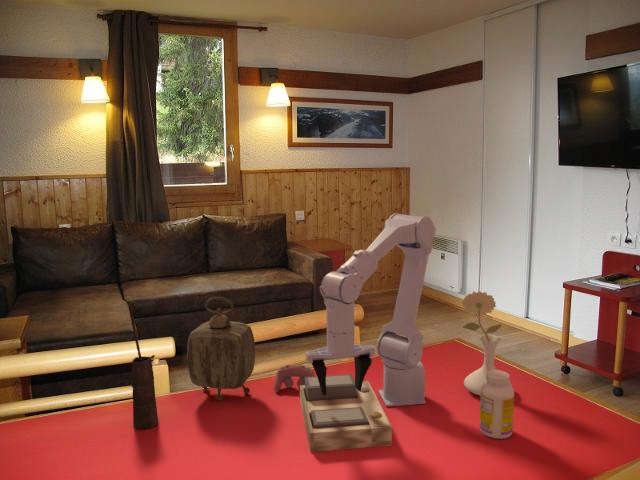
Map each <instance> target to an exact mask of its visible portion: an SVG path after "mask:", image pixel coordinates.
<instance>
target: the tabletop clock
mask: <svg viewBox="0 0 640 480" xmlns="http://www.w3.org/2000/svg"><path fill="white" fill-rule="evenodd" d="M215 300H217V301H218V300H219V301H224V302H226V303H228V304H229V305H230V309H229V310H225V311H222V308H221V307H218V308H216V310H213V309H210V308H209V307H208V303H209V302H210V301H215ZM204 307H205V310H206V311H208V312H209V313H211V314H212V315H213V314H214V315H213V316H212V317H211V318H210V319H209V321H206V322H202V323H201V324H200V325H199V326H198V327H196V328H195V329H194V330H192V331H191V332H190V333H189V336H188V340H187V345H186V351H187V352H186V354H187V355H186V359H187V367H188V368H187V369H188V374H189V378H190V381H191V384H192V385H196V386H198V387H201V388H202V390H203V391H208V390H209V388H210V389H217V394H216V396H214V397H215V401H216V402H221V401H222V400H223V395H222V394H221V391H222V390H234V389H238V388H242V389H243V393H244V394H245V395H248V394H250V392H251V390H250V388H249V387H247V386H245V385H244V384H245V383H246V381H247V380H248V379H249V378H250V376H251V375H252V374H253V371H254V369H255V364H256V363H255V362H256V361H255V360H256V345H255V337H254V333H253V330H252V327H251V325H248V324H246V323H243V322H241V321H233V320H232V321H231V320H230V319H229V317H228V316H226V314H229V313H231V311H233V308H234V305H233V303H232V301H231V300H230V299H228V298H226V297H223V296H212V297H209V298H207V300H205V303H204ZM207 387H209V388H207ZM203 388H204V389H203Z"/></svg>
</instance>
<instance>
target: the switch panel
mask: <svg viewBox="0 0 640 480" xmlns="http://www.w3.org/2000/svg"><path fill="white" fill-rule="evenodd" d="M299 402H300V408H301V409H300V410H301V412H302V417H303V418H302V419H303V422H304V426H305V427H304V428H305V430H306V436H307V441H308V447H309V451H310V453H314V452H325V451H327V452H328V451H339V450H350V449H352V450H353V449H362V448H363V449H364V448H374V447H375V448H376V447H386V446H387V447H388V446H393V425H392V424H391V422H390V421H389V419H388V417H387V415H386V412H385V411H384V409H383V407H382V405H381V403H380V401H379V399H378V398H377V395H376V393H375V391H374V389H373V387H372V386H371V384H370V382H369V380H365V381H364V380H363V384H362V388H361V390H360V391H358V390H357V389H356V398H349V399H334V400H319V401H307V398H306V394H305V385H300V388H299ZM355 407H362V409H363V411H364V413H365V415H366V418H367V420H368V425H356V426H342V427H329V428H315V429H313V428H312V424H311V411H313V410H327V409H341V408H355Z"/></svg>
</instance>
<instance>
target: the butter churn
mask: <svg viewBox="0 0 640 480" xmlns="http://www.w3.org/2000/svg"><path fill="white" fill-rule="evenodd" d="M127 305H128V310H129V316H130V320H131V325H132V330H133V331H132V332H133V336H134V341H135V345H136V349H137V356H135V357H134V358H133V359H132V361H131V388H132V420H133V421H132V423H133V427H134V428H135V429H137V430H146V429H148V428H153V427H155V426H156V425H157V424H158V423H159V417H158V416H159V415H158V407H157V401H156V399H157V398H156V390H155V389H156V388H155V375H154V374H155V373H154V370H153V363H152V362H153V360H152V359H154V358H155V357H156V356H155V355H154V354H153V355H151V356H142V354H141V350H140V349H141V348H140V344H139V343H140V342H139V340H138V339H139V338H138V334H137V330H136V329H137V328H136V323H135V317H134V314H133V310H132V305H131V301H130V300H127Z"/></svg>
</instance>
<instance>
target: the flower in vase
mask: <svg viewBox="0 0 640 480" xmlns="http://www.w3.org/2000/svg"><path fill="white" fill-rule="evenodd" d="M461 305H462V307H463V308H464V311H465V312H467V313H468V314H472V315H475V316H478V324H477V323H475V322H469V323H468V322H467V323H465V325H463V326H462V328H463V329H467V330H470V331H477V330H479V329H481V330H482V332H483V334H481V335H480V336H478V337H479V340H480V341H481V343H482V345H483V352H484V353H483V355H484V360H483V364H482V366H481V367H480V368H478V369H476V370H475V371H472V372H470V374H469V375H467V376H466V377H465V379H464V380H463V385H464V386H465V388H466V390H467V391H469V392H471V393H472V394H475V395H477V396H480V397H481V387H482V385H483V384H484V383H486V382H487V380H486V373H487V372H488V371H491V370H498V369H497V367H496V366H495V353H496V349H497V345H498V344H499V343H500V341H501V340H502V338H501V337H500V336H498V335H495V334H493V333H496V332H497V331H499V330H500V328H501V327H502V323H500V324H496V325H491V326H489V327H488V329H486V331H485V330H484V328H483V326H482V323H481V316H482V315H486V314H490V313H492V312H493V311H494V309H495V307H496V308H497V305H496V301H495V298H494V297H493V295H489V294H488V293H487V292H486V291H484V292H482V291H478V292H476V291H472V293H468V294H467V295H465V297H463V300H462V301H461ZM508 385H510V386H511V387H512V388H513V385H512V382H511V381H510V382H509V384H508Z"/></svg>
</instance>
